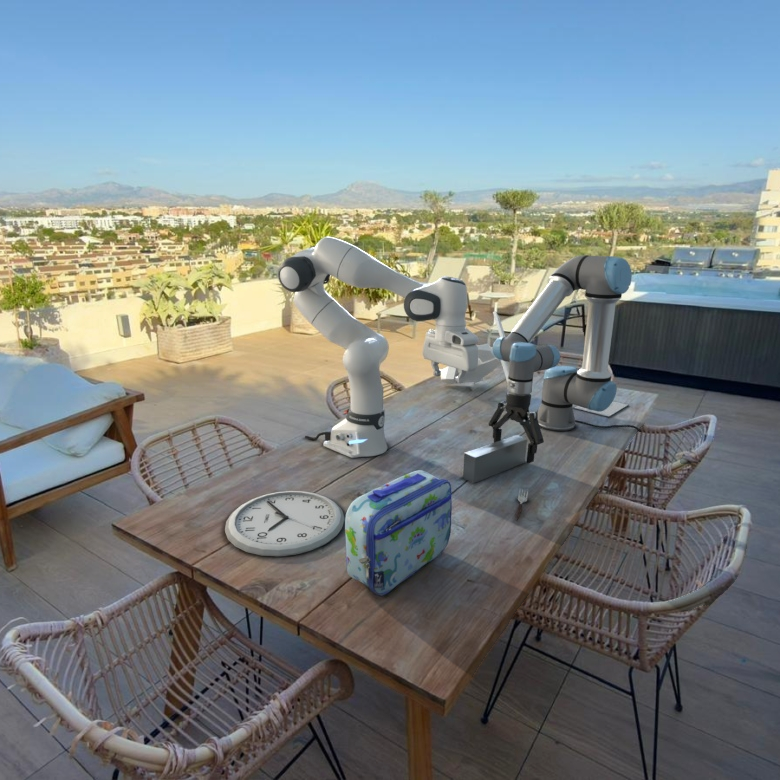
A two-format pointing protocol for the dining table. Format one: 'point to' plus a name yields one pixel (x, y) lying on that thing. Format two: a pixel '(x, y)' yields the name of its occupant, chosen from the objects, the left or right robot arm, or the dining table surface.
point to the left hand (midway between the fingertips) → (447, 379)
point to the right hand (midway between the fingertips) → (512, 455)
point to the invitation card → (609, 411)
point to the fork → (521, 499)
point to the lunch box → (397, 529)
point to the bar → (494, 458)
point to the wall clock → (284, 523)
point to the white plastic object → (479, 363)
